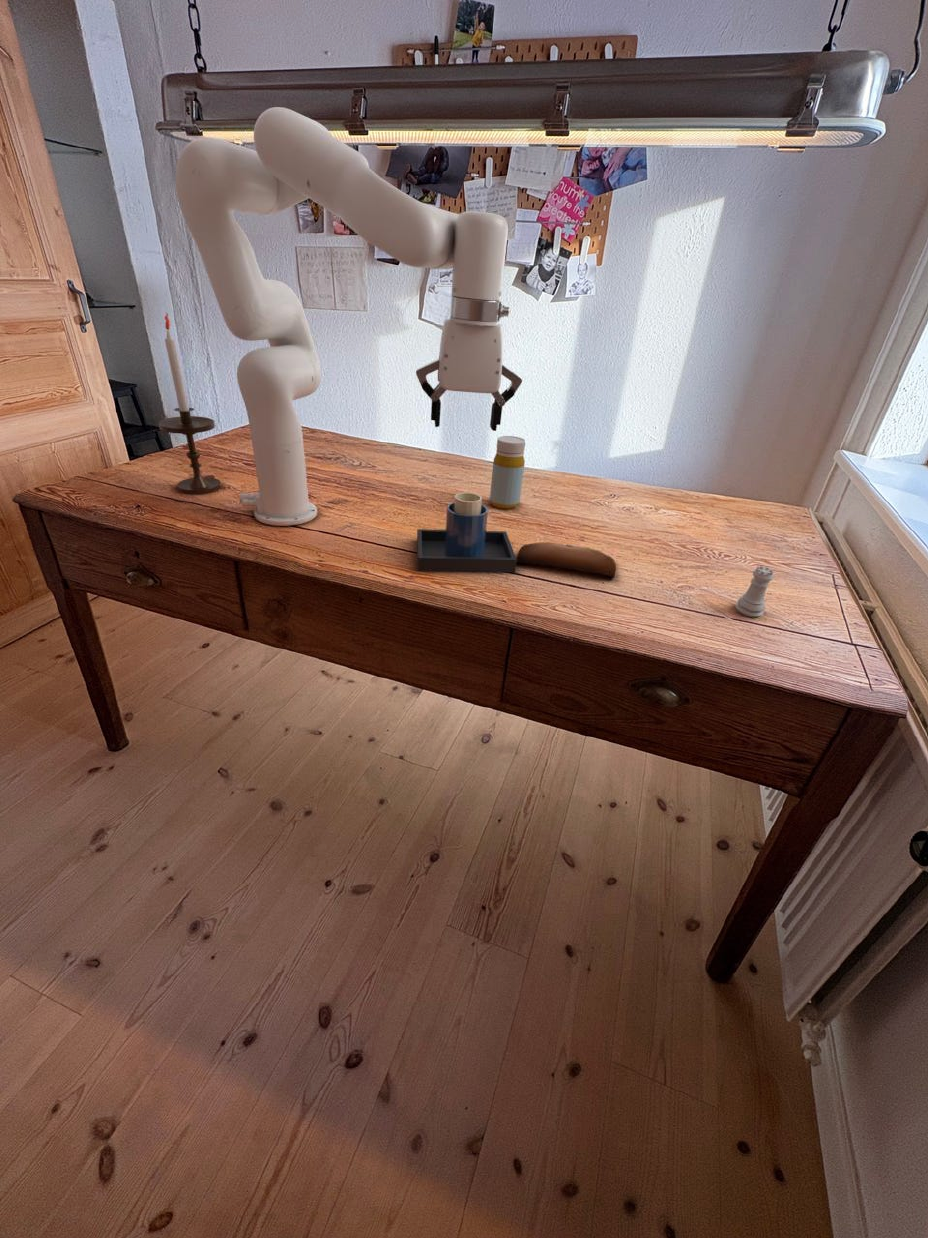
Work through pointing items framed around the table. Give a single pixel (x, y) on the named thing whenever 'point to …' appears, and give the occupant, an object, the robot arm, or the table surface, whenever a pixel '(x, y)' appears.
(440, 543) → the tray
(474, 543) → the big cup
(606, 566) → the sunglasses case
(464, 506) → the small cup
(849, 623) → the table surface
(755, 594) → the rook chess piece
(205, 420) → the candlestick
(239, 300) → the robot arm
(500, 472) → the bottle
